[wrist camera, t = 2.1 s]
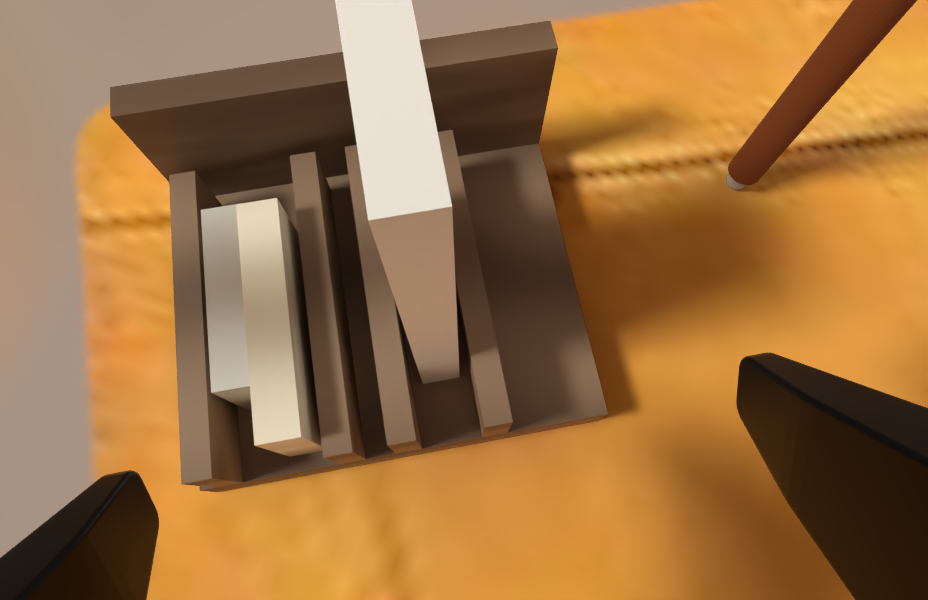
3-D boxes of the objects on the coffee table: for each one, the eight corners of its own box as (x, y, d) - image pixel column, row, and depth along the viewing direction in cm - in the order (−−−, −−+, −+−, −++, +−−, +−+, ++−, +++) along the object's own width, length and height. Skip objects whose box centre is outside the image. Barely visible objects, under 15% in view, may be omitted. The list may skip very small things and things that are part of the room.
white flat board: (459, 377, 20) (451, 206, 9) (422, 383, 20) (367, 220, 9) (433, 237, 22) (399, -61, 10) (399, 243, 22) (327, -50, 10)
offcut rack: (598, 420, 21) (652, 383, 15) (218, 491, 21) (113, 483, 14) (528, 142, 25) (550, 20, 19) (201, 195, 24) (110, 87, 18)
